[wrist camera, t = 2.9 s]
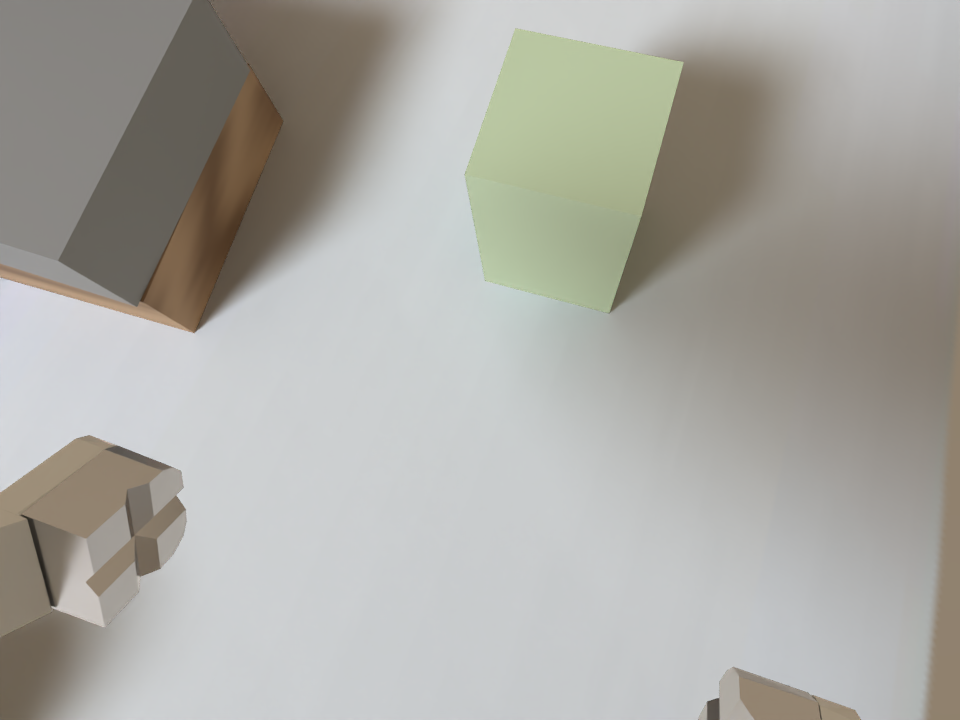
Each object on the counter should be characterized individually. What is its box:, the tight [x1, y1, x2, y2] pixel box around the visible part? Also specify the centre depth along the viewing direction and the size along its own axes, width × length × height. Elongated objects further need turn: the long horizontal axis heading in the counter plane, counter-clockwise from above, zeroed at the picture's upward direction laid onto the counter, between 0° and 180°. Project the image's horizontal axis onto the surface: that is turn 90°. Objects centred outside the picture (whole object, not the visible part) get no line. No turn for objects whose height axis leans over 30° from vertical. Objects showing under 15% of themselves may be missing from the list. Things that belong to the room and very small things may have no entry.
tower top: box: [0, 0, 250, 307], centre depth 23 cm, size 10×10×4 cm
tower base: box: [0, 64, 283, 333], centre depth 27 cm, size 10×10×4 cm
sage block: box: [465, 28, 684, 313], centre depth 23 cm, size 5×5×8 cm
